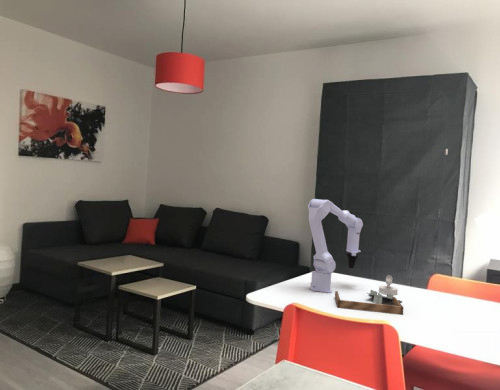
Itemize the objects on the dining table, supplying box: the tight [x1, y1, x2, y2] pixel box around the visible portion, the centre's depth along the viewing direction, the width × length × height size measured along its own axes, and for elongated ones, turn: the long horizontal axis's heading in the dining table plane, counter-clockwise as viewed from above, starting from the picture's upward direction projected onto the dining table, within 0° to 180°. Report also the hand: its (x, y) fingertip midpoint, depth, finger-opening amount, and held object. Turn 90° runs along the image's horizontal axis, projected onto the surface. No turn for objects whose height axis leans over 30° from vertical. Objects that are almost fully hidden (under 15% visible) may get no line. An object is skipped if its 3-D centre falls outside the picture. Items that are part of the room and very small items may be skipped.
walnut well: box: [334, 290, 404, 315], centre depth 178 cm, size 26×16×3 cm, turn 82°
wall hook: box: [378, 274, 399, 296], centre depth 204 cm, size 9×10×10 cm
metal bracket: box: [366, 289, 403, 304], centre depth 188 cm, size 14×6×15 cm
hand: (351, 268), depth 210 cm, fingers closed
